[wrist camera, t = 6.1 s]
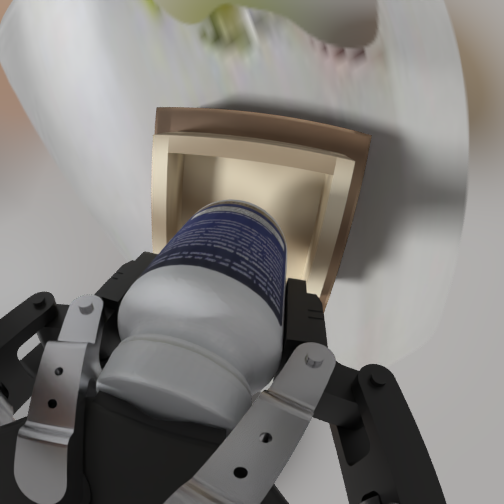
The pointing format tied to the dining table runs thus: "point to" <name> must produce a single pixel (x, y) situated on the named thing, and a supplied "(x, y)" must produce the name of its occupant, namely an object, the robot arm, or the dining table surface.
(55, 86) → the dining table surface
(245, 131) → the box
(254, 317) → the pill bottle
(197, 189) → the top crate
